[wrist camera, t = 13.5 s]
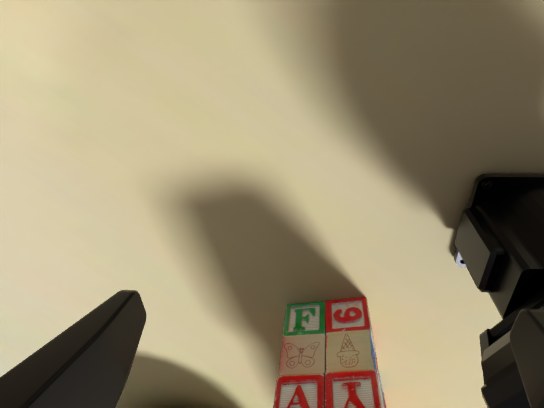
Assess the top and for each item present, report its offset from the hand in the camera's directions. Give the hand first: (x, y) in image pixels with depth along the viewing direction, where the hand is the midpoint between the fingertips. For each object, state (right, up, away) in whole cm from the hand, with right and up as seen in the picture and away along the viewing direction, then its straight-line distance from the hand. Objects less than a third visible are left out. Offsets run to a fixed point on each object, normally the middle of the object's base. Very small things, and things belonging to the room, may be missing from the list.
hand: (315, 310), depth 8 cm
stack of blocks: (+6, -13, +23) cm, 28 cm away
